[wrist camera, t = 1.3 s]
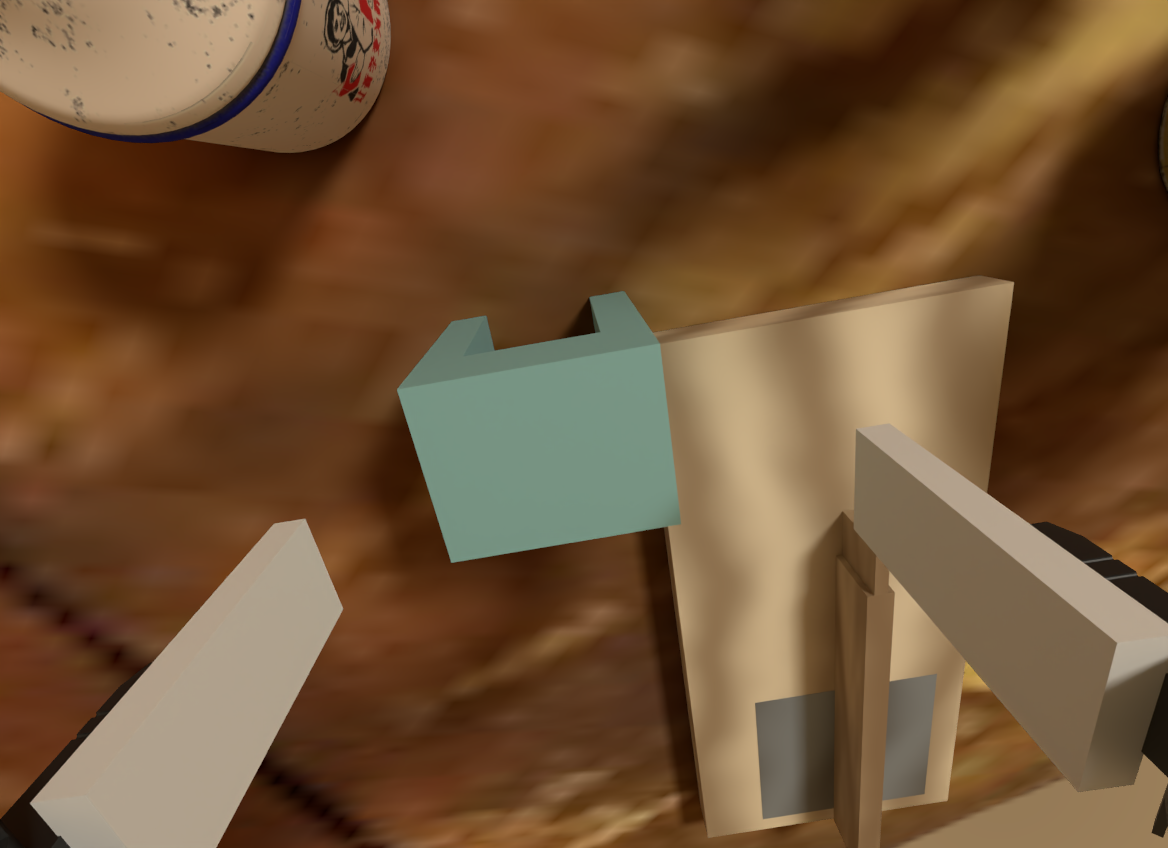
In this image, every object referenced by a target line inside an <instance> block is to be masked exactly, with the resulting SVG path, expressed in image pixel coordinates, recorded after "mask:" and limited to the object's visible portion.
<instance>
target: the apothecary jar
mask: <svg viewBox="0 0 1168 848" xmlns="http://www.w3.org/2000/svg"><path fill="white" fill-rule="evenodd" d="M1158 158H1159V164H1160V173H1161V177H1162V180H1163V182H1164V185H1165V188H1166V190H1167V192H1168V96H1167V99H1166V102H1165V106H1164V110H1163V114H1162V120H1161V124H1160V130H1159V138H1158Z"/></svg>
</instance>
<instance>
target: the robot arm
mask: <svg viewBox="0 0 1168 848" xmlns="http://www.w3.org/2000/svg"><path fill="white" fill-rule="evenodd" d="M854 530H855V531H856V532H857V533H858V535H859V536H860V537H861V538H862V539H863V540H864V542H865V543H866V544H867V545H868V546H869V547H870V549H871V550H872V551H873V552H874V553H875V554H876V556H877V557H878V558H879V559H880V560H881V562H882V563H883V564H884V565H885V566H886V567H887V569H888V570H889V571H890V572H891V573H892V574H893V576H894V577H895V578H896V579H897V580H898V581H899V583H900V584H901V585H902V586H903V587H904V589H905V590H906V591H907V592H908V593H909V594H910V596H911V597H912V598H913V599H914V600H915V601H916V603H917V604H918V605H919V606H920V607H921V608H922V610H923V611H924V612H925V613H926V614H927V616H928V617H929V618H930V619H931V620H932V621H933V623H934V624H935V625H936V626H937V627H938V628H939V630H940V631H941V632H942V633H943V634H944V635H945V637H946V638H947V639H948V640H949V641H950V642H951V644H952V645H953V646H954V647H955V648H956V650H957V651H958V652H959V653H960V654H961V655H962V657H963V658H964V659H965V660H966V661H967V662H968V664H969V665H970V666H971V667H972V668H973V669H974V671H975V672H976V673H977V674H978V675H979V677H980V678H981V679H982V680H983V681H984V682H985V684H986V685H987V686H988V687H989V688H990V689H991V691H992V692H993V693H994V694H995V695H996V696H997V698H998V699H999V700H1000V701H1001V702H1002V703H1003V705H1004V706H1005V707H1006V708H1007V709H1008V711H1009V712H1010V713H1011V714H1012V715H1013V716H1014V718H1015V719H1016V720H1017V721H1018V722H1019V723H1020V725H1021V726H1022V727H1023V728H1024V729H1025V730H1026V732H1027V733H1028V734H1029V735H1030V736H1031V738H1032V739H1033V740H1034V741H1035V742H1036V743H1037V745H1038V746H1039V747H1040V748H1041V749H1042V750H1043V752H1044V753H1045V754H1046V755H1047V756H1048V757H1049V759H1050V760H1051V761H1052V762H1053V763H1054V764H1055V766H1056V767H1057V768H1058V769H1059V770H1060V772H1061V773H1062V774H1063V775H1064V776H1065V777H1066V779H1067V780H1068V781H1069V782H1070V783H1071V784H1072V786H1073V787H1074V788H1075V789H1076V790H1077V791H1078V792H1083V791H1089V790H1097V789H1104V788H1112V787H1119V786H1126V785H1133V784H1134V782H1135V779H1136V776H1137V773H1138V770H1139V766H1140V763H1141V760H1142V757H1143V754H1144V755H1145V756H1146V757H1147V758H1148V759H1150V760H1151V761H1152V762H1153V763H1154V764H1155V765H1156V766H1157V767H1158V768H1159V769H1160V770H1161V771H1162V772H1163V773H1164V774H1165V775H1166V776H1167V777H1168V593H1167V592H1166V591H1164V590H1163V589H1161V588H1160V587H1158V586H1157V585H1155V584H1154V583H1152V582H1151V581H1149V580H1148V579H1146V578H1145V577H1143V576H1141V577H1139V576H1138V575H1137V574H1136V571H1134V570H1133V569H1131V568H1130V567H1128V566H1127V565H1125V564H1124V563H1122V562H1121V561H1119V560H1114V559H1113V558H1112V555H1110V554H1109V553H1107V552H1106V551H1104V550H1103V549H1101V548H1100V547H1098V546H1097V545H1095V544H1094V543H1092V542H1091V541H1089V540H1088V539H1086V538H1085V537H1083V536H1081V535H1079V534H1076V533H1074V532H1071V531H1069V530H1066V529H1064V528H1061V527H1059V526H1056V525H1054V524H1051V523H1049V522H1042V523H1035V524H1029V523H1027V522H1026V521H1025V520H1023V519H1022V518H1020V517H1019V516H1018V515H1016V514H1015V513H1013V512H1012V511H1011V510H1009V509H1008V508H1006V507H1005V506H1004V505H1002V504H1001V503H1000V502H998V501H997V500H995V499H994V498H993V497H991V496H990V495H988V494H987V493H986V492H984V491H983V490H981V489H980V488H979V487H977V486H976V485H974V484H973V483H972V482H970V481H969V480H967V479H966V478H965V477H963V476H962V475H961V474H959V473H958V472H956V471H955V470H954V469H952V468H951V467H949V466H948V465H947V464H945V463H944V462H942V461H941V460H940V459H938V458H937V457H935V456H934V455H933V454H931V453H930V452H929V451H927V450H926V449H924V448H923V447H922V446H920V445H919V444H917V443H916V442H915V441H913V440H912V439H910V438H909V437H908V436H906V435H905V434H903V433H902V432H901V431H899V430H898V429H896V428H895V427H894V426H892V425H891V424H890V423H888V424H882V425H876V426H870V427H864V428H858V429H856V447H855V490H854ZM342 610H343V607H342V605H341V603H340V600H339V598H338V595H337V593H336V591H335V588H334V586H333V584H332V581H331V579H330V577H329V574H328V572H327V569H326V567H325V565H324V562H323V560H322V558H321V555H320V553H319V550H318V548H317V546H316V543H315V541H314V539H313V536H312V534H311V531H310V529H309V527H308V524H307V522H306V520H305V519H300V520H294V521H288V522H282V523H276V524H274V525H273V526H272V527H271V528H270V529H269V530H268V531H267V533H266V534H265V535H264V536H263V537H262V538H261V539H260V541H259V542H258V543H257V544H256V545H255V546H254V547H253V549H252V550H251V551H250V552H249V553H248V554H247V555H246V557H245V558H244V559H243V560H242V561H241V562H240V563H239V565H238V566H237V567H236V568H235V569H234V570H233V571H232V573H231V574H230V575H229V576H228V577H227V578H226V579H225V581H224V582H223V583H222V584H221V585H220V586H219V587H218V589H217V590H216V591H215V592H214V593H213V594H212V595H211V597H210V598H209V599H208V600H207V601H206V602H205V603H204V605H203V606H202V607H201V608H200V609H199V610H198V611H197V613H196V614H195V615H194V616H193V617H192V618H191V619H190V621H189V622H188V623H187V624H186V625H185V626H184V627H183V629H182V630H181V631H180V632H179V633H178V634H177V635H176V637H175V638H174V639H173V640H172V641H171V642H170V643H169V645H168V646H167V647H166V648H165V649H164V650H163V651H162V653H161V654H160V655H159V656H158V657H157V658H156V659H155V661H154V662H153V663H149V664H148V665H147V666H145V667H144V668H143V669H142V670H140V671H139V672H138V673H136V674H135V675H134V676H133V677H131V678H130V679H129V680H128V681H126V682H125V683H124V684H122V685H121V686H120V687H119V688H118V689H117V690H116V691H115V692H114V693H113V695H112V696H111V697H110V698H109V699H108V700H107V701H106V702H105V704H104V705H103V706H102V707H101V708H100V709H99V710H98V711H97V712H96V714H97V715H96V717H94V718H91V719H90V720H89V721H88V722H87V724H86V725H85V726H84V727H83V728H82V729H81V730H80V731H79V732H78V734H77V738H76V739H75V740H71V741H70V742H69V744H68V745H67V746H66V747H65V748H64V749H63V750H62V751H61V752H60V754H59V755H58V756H57V757H56V758H55V759H54V760H53V761H52V762H51V764H50V765H49V766H48V767H47V768H46V769H45V770H44V771H43V772H42V774H41V775H40V776H39V777H38V778H37V779H36V780H35V781H34V782H33V784H32V785H31V786H30V787H29V788H28V789H27V790H26V791H25V792H24V794H23V795H22V796H21V797H20V798H19V799H18V800H17V801H16V803H15V804H14V805H13V806H12V807H11V808H10V809H9V810H8V811H7V813H6V814H5V815H4V816H3V817H2V818H1V819H0V848H216V847H217V845H218V844H219V842H220V840H221V838H222V836H223V834H224V832H225V830H226V828H227V827H228V825H229V823H230V821H231V819H232V817H233V815H234V813H235V812H236V810H237V808H238V806H239V804H240V802H241V800H242V798H243V797H244V795H245V793H246V791H247V789H248V787H249V785H250V783H251V781H252V780H253V778H254V776H255V774H256V772H257V770H258V768H259V766H260V765H261V763H262V761H263V759H264V757H265V755H266V753H267V751H268V749H269V748H270V746H271V744H272V742H273V740H274V738H275V736H276V734H277V733H278V731H279V729H280V727H281V725H282V723H283V721H284V719H285V717H286V716H287V714H288V712H289V710H290V708H291V706H292V704H293V702H294V701H295V699H296V697H297V695H298V693H299V691H300V689H301V687H302V685H303V684H304V682H305V680H306V678H307V676H308V674H309V672H310V670H311V669H312V667H313V665H314V663H315V661H316V659H317V657H318V655H319V653H320V652H321V650H322V648H323V646H324V644H325V642H326V640H327V638H328V637H329V635H330V633H331V631H332V629H333V627H334V625H335V623H336V622H337V620H338V618H339V616H340V614H341V612H342ZM1167 826H1168V785H1167V788H1166V790H1165V793H1164V796H1163V799H1162V802H1161V804H1160V807H1159V810H1158V813H1157V816H1156V819H1155V822H1154V826H1153V830H1152V833H1153V834H1156V835H1158V836H1160V837H1163V836H1164V834H1165V831H1166V828H1167Z"/></svg>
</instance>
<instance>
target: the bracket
mask: <svg viewBox="0 0 1168 848" xmlns="http://www.w3.org/2000/svg"><path fill="white" fill-rule="evenodd" d="M589 298H590V304H591V310H592V316H593V322H594V329H595V333H593V334H587V335H582V336H576V337H570V338H565V339H559V340H553V341H548V342H542V343H536V344H531V345H525V346H519V347H514V348H508V349H502V350H497V351H494V347H493V342H492V338H491V334H490V330H489V325H488V321H487V317H486V316H481V317H475V318H469V319H464V320H458V321H452V322H451V323H450V325H449V326H448V327H447V328H446V330H445V331H444V332H443V333H442V334H441V336H440V337H439V338H438V339H437V341H436V342H435V343H434V344H433V346H432V347H431V348H430V349H429V351H428V352H427V353H426V354H425V356H424V357H423V358H422V359H421V360H420V362H419V363H418V364H417V365H416V367H415V368H414V369H413V370H412V372H411V373H410V374H409V375H408V377H407V378H406V379H405V380H404V381H403V383H402V384H401V385H400V386H399V388H398V389H397V391H398V395H399V398H400V401H401V404H402V407H403V410H404V414H405V417H406V420H407V423H408V426H409V430H410V433H411V436H412V439H413V442H414V445H415V449H416V452H417V455H418V458H419V461H420V464H421V468H422V471H423V474H424V477H425V480H426V484H427V487H428V490H429V493H430V496H431V499H432V503H433V506H434V509H435V512H436V515H437V519H438V522H439V525H440V528H441V531H442V534H443V538H444V541H445V544H446V547H447V550H448V553H449V557H450V560H451V563H453V562H459V561H465V560H471V559H477V558H483V557H489V556H495V555H501V554H507V553H513V552H519V551H525V550H531V549H537V548H543V547H549V546H555V545H561V544H567V543H573V542H578V541H584V540H590V539H596V538H602V537H608V536H614V535H620V534H626V533H632V532H638V531H644V530H650V529H656V528H662V527H668V526H674V525H680V524H681V518H680V510H679V501H678V493H677V484H676V476H675V467H674V459H673V450H672V442H671V433H670V425H669V416H668V408H667V399H666V391H665V382H664V374H663V365H662V357H661V348H660V343H659V341H658V340H657V338H656V337H655V336H654V334H653V333H652V331H651V330H650V328H649V327H648V325H647V324H646V322H645V321H644V319H643V318H642V317H641V315H640V314H639V312H638V311H637V309H636V308H635V306H634V305H633V303H632V302H631V301H630V299H629V298H628V296H627V295H626V293H625V292H624V291H621V292H616V293H610V294H605V295H599V296H593V297H589Z"/></svg>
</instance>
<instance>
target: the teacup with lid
mask: <svg viewBox="0 0 1168 848" xmlns="http://www.w3.org/2000/svg"><path fill="white" fill-rule="evenodd" d="M390 43H391V27H390V16H389V9H388V3H387V0H0V91H1V92H3V93H4V94H6V95H7V96H9V97H11V98H12V99H14V100H15V101H17V102H19V103H21V104H23V105H24V106H26V107H27V108H29V109H31V110H33V111H35V112H37V113H39V114H40V115H42V116H44V117H46V118H48V119H50V120H52V121H55V122H57V123H60V124H62V125H64V126H67V127H69V128H72V129H75V130H78V131H81V132H84V133H87V134H90V135H94V136H98V137H102V138H107V139H111V140H118V141H125V142H134V143H159V142H171V141H176V140H181V139H187V140H194V141H201V142H208V143H215V144H222V145H229V146H236V147H243V148H250V149H257V150H264V151H271V152H279V153H295V152H304V151H309V150H314V149H317V148H321V147H324V146H326V145H328V144H331V143H333V142H335V141H337V140H338V139H340V138H342V137H343V136H345V135H346V134H347V133H349V132H350V131H351V130H352V129H354V128H355V127H356V126H357V125H358V124H359V123H360V122H361V120H362V119H363V118H364V117H365V116H366V114H367V113H368V112H369V110H370V109H371V107H372V105H373V104H374V102H375V100H376V98H377V96H378V94H379V92H380V90H381V87H382V84H383V82H384V78H385V75H386V71H387V67H388V61H389V55H390Z"/></svg>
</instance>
